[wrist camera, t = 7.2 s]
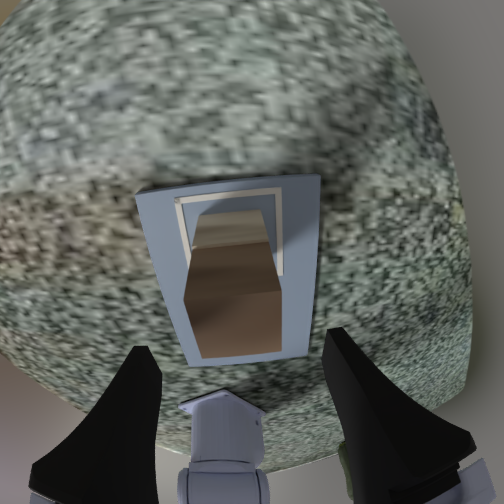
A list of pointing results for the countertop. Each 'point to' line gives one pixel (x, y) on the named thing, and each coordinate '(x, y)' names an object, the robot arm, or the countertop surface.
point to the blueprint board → (280, 240)
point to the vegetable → (346, 468)
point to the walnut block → (234, 300)
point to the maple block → (229, 229)
